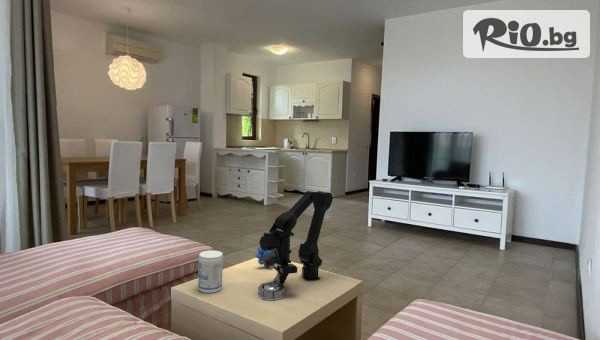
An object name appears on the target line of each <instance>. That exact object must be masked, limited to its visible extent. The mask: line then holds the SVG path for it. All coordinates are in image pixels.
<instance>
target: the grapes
mask: <svg viewBox="0 0 600 340" xmlns="http://www.w3.org/2000/svg"><path fill="white" fill-rule="evenodd" d="M272 253H274V249H271V250H265V251H264V250H262V249H261V247H260V245H259V246H257V252H256V253H255V257H256V259H257V260H258V261H257V262H258V264H259V265H262V266H263V267H264V268H267V269H268V268H269V267H265V266H264V264H263V261H262V257H265V256H267V255H269V254H272ZM270 267H275V264H273V265H271V266H270Z"/></svg>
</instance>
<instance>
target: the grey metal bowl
mask: <svg viewBox="0 0 600 340" xmlns="http://www.w3.org/2000/svg"><path fill="white" fill-rule="evenodd" d="M264 289H265V290H269V291H275V290H279V285H278V284H274V283H270V284H266V285H264ZM258 297H259V299H260V300H261V299H262V300H263V301H268V302H269V301H279V300H281V299H283V298H284V297H285V294H284V295H283V296H282V297H279V298H275V299H270V298H264V297H261V296H260V295H259V294H258Z"/></svg>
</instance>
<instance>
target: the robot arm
mask: <svg viewBox="0 0 600 340" xmlns="http://www.w3.org/2000/svg"><path fill="white" fill-rule="evenodd" d="M333 199H334V197H333V194H332V193H331V192H327V191H321V190H318V191H312V190H307V191H305V192H304V194H303V196H302V197H300V199H298V200H297V201H296V203H294V205H293V206H292V207H291V208H290V209H289V210H287V211H285V212H282V213H281V214H279V215H278V216H277V217H276V218H275V219H274V222H273V224H272V226H271V227H270V229H269V230H268V232H263V235H262V236H261V237H260V239H259V246H260V247H261V249H262V250H264V251H265V250H271V249H274V253H272V254H269V255H267V256H265V257H262V261H263V264H264V265H263V267H264V266H265V267H264V268H266V267H268V268H270V267H273V269H274V270H275V271H276V272H277V274H278V276H279V281H280V283H281V284H282V285H284V286H285V282H286V280H287V278H288V276H289V275H290V274H298V266H297V265H295V264H294V263H292V260H291V257H290V255H291V254H292V249H291V237H293V236H295V233H294V232H292V231H293V230H294V228H295V227H296V225H297V222H298V219H299V218H300V216H301V215H303V213H304V212H305V211H306V210H307V209H308V208H309V207H310V206H311V205H313V208H314V211H313V212H312V213H313V214H312V216H311V222H310V225H309V229H308V233H307V236H306V240H305V241H304V242H303V243H300V244H299V248H298V251H297V253H298V258H299V261H300V263H301V264H302V267H301V277H302V278H303V279H304V280H305V281H314V280H315V281H316V280H320V276H319V268H320V266H322V264H323V260H322V258H321V257H320V256H319V247H318V242H319V239H320V233H321V229H322V226H323V223H324V219H325V214H326V212H327V211H328V210H329V209H330V208H331V206H332V204H333ZM273 264H275V266H271V265H273Z"/></svg>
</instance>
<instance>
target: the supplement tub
mask: <svg viewBox="0 0 600 340" xmlns="http://www.w3.org/2000/svg"><path fill="white" fill-rule="evenodd" d="M198 255H199V256H198V267H197V268H198V271H197V272H198V273H197V274H198V275H197V276H198V279H197V289H198V290H199V292H200V293H206V294H211V293H212V294H213V293H216V292H219V291H220V290H222V289H223V270H224V269H223V266H224V265H223V264H224V254H223V251H219V250H204V251H202V252H200V253H199V254H198Z"/></svg>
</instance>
